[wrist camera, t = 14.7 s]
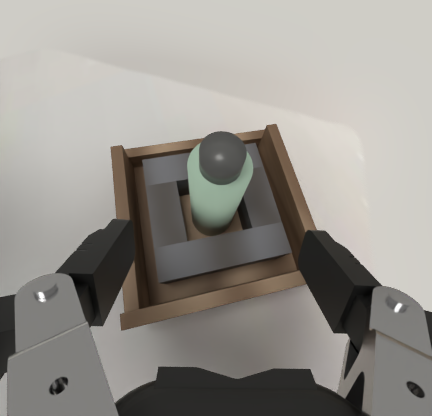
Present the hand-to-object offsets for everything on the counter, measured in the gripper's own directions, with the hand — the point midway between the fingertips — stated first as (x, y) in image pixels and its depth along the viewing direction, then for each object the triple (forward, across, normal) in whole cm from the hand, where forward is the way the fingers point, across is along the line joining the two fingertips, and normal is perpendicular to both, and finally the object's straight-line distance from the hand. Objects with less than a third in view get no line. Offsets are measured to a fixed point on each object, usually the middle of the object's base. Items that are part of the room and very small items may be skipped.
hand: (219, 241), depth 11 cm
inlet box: (+12, 0, +5) cm, 13 cm away
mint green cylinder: (+12, 0, +5) cm, 13 cm away
